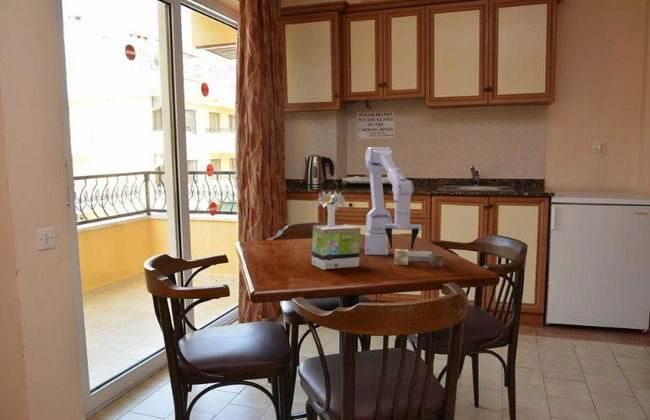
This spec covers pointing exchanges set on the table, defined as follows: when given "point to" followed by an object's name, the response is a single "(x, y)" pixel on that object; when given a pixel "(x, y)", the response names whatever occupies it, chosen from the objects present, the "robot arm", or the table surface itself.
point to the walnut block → (436, 259)
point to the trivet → (419, 256)
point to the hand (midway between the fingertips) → (401, 248)
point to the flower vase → (331, 204)
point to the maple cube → (401, 257)
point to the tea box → (335, 246)
